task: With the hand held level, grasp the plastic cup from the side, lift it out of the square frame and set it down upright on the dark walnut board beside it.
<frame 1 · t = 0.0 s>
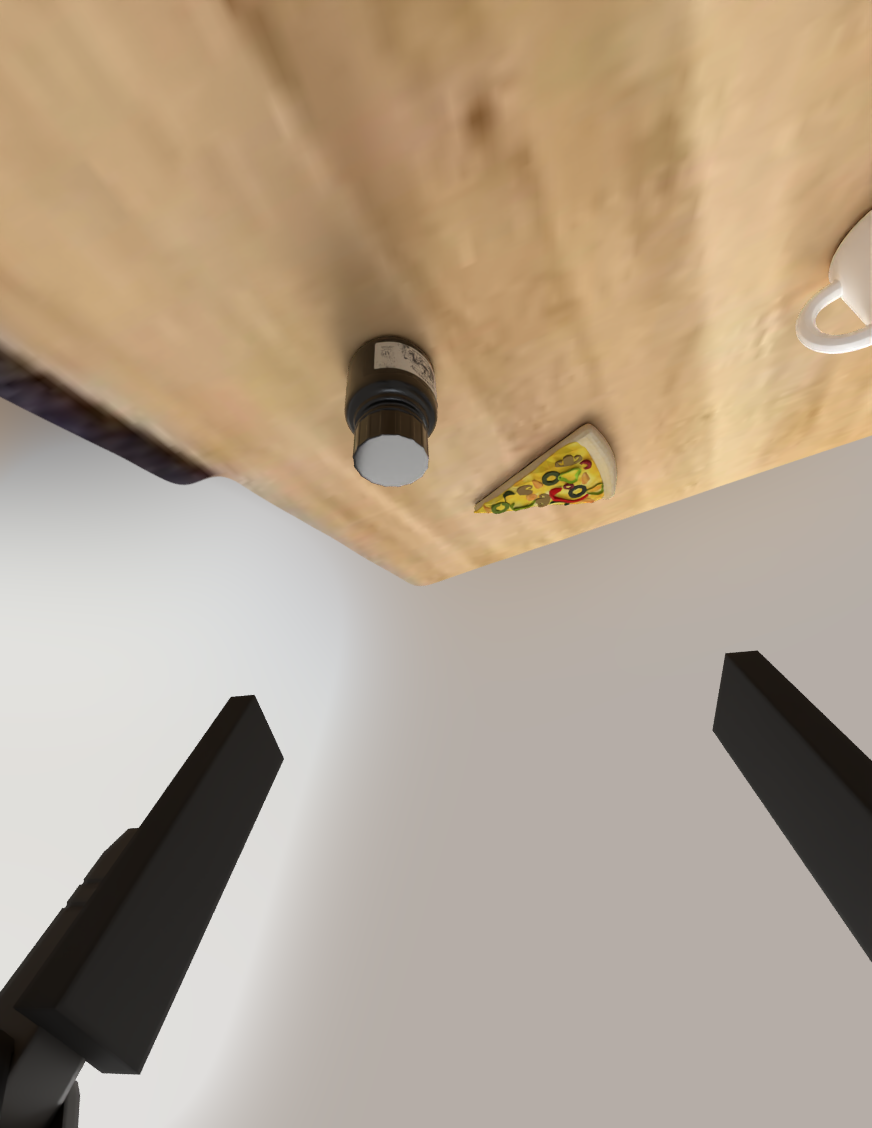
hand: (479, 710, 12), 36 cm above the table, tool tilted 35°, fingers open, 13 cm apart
mug: (857, 252, 35), on the table
ink bottle: (391, 374, 43), on the table
pizza slice: (537, 480, 59), on the table
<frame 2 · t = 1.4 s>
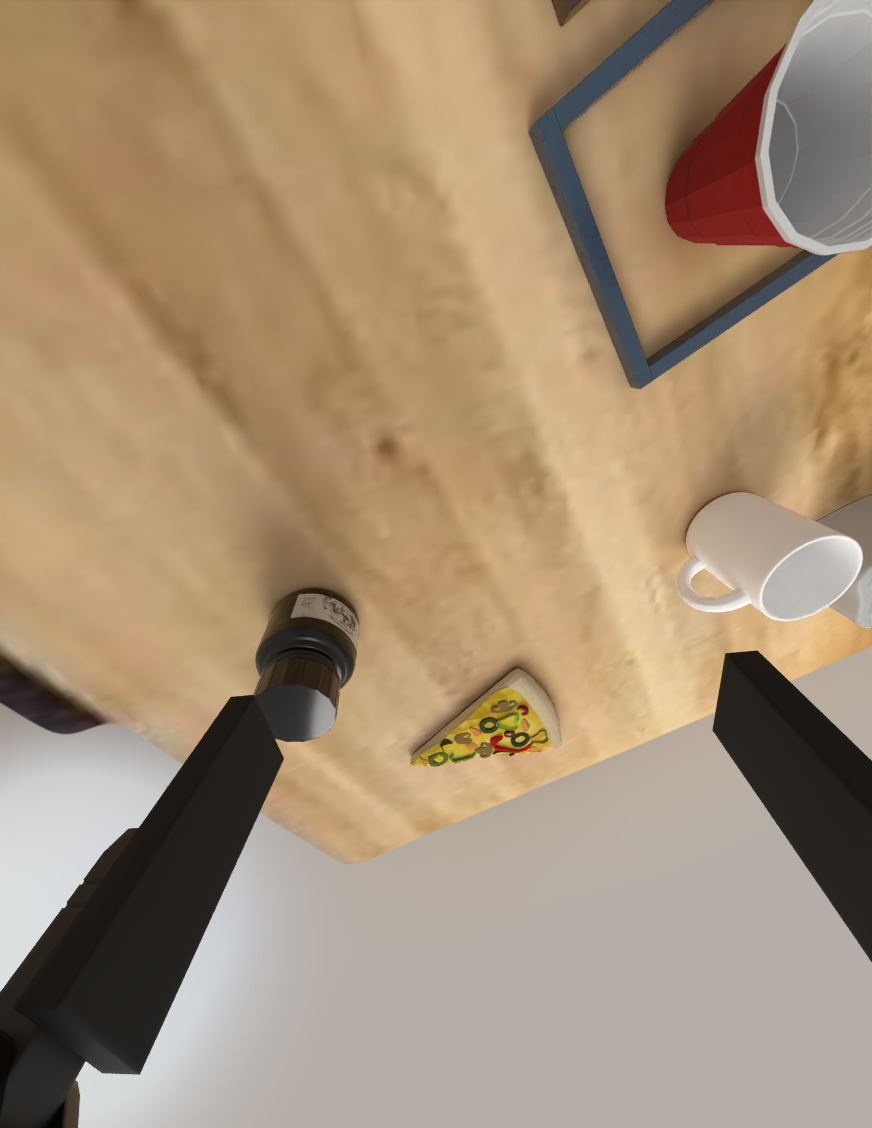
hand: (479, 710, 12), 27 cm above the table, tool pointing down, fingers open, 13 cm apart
mug: (703, 537, 43), on the table
ink bottle: (316, 621, 43), on the table
pizza slice: (477, 726, 54), on the table
egg container: (853, 538, 45), on the table
plastic cup: (704, 186, 28), resting in square frame
square frame: (706, 185, 28), on the table
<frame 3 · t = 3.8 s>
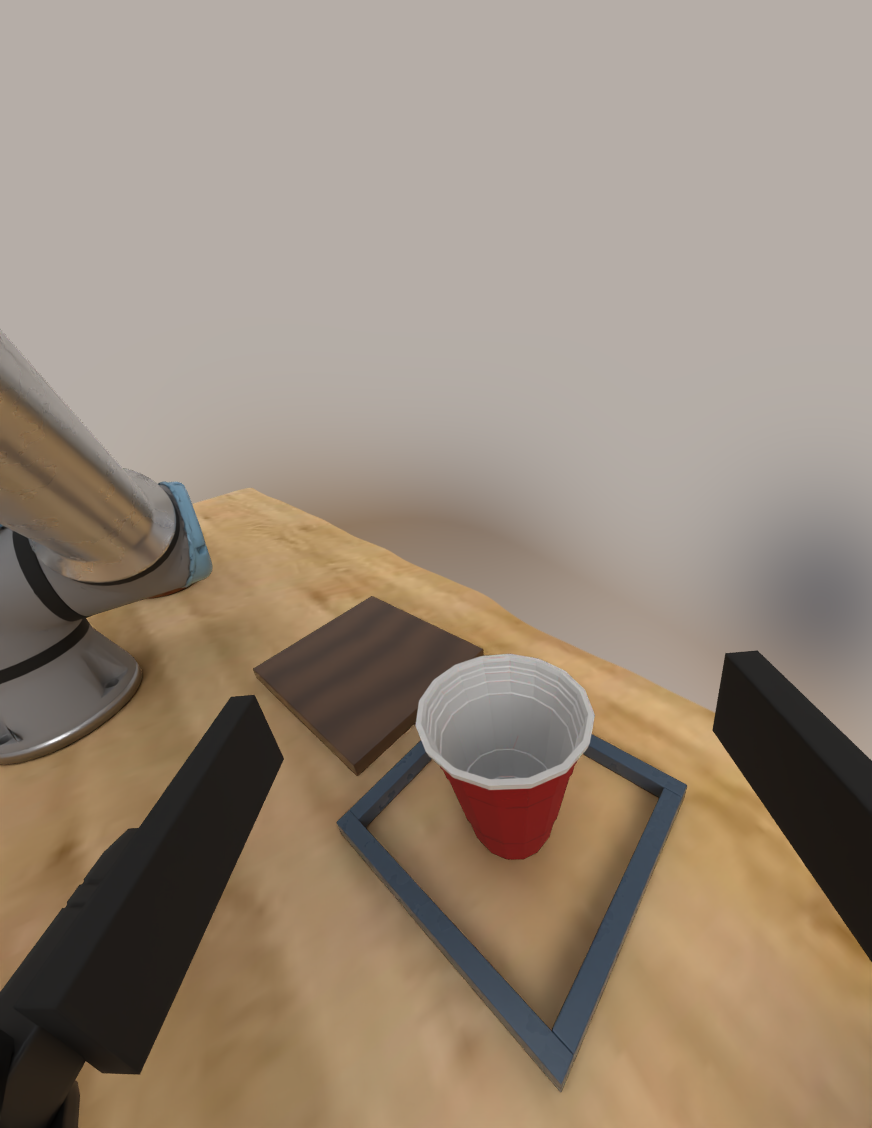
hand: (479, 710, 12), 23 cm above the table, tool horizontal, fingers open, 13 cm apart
plastic cup: (510, 816, 31), resting in square frame
square frame: (509, 815, 31), on the table
walnut board: (367, 668, 47), on the table
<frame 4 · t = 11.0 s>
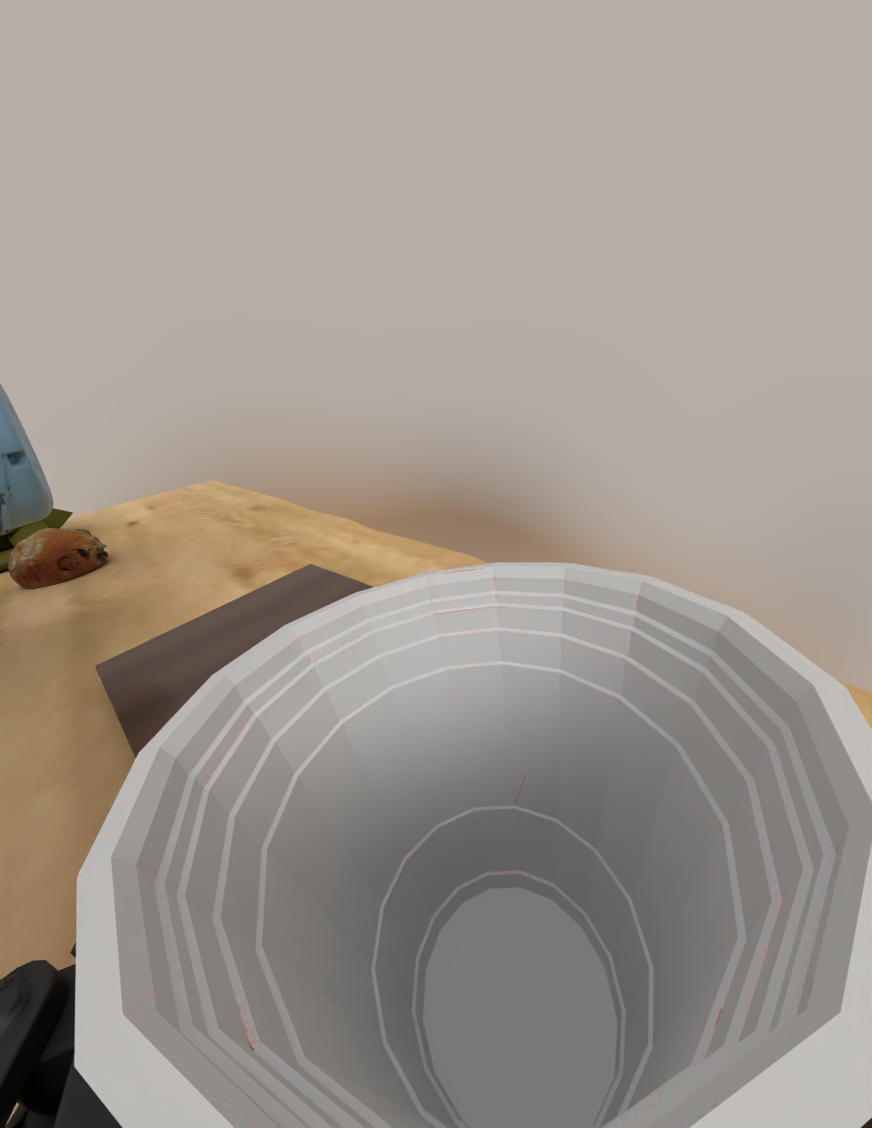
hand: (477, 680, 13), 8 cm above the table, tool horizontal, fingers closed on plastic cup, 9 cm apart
plastic cup: (513, 989, 12), resting in square frame, touching gripper
bread roll: (71, 572, 57), on the table
walnut board: (278, 660, 29), on the table
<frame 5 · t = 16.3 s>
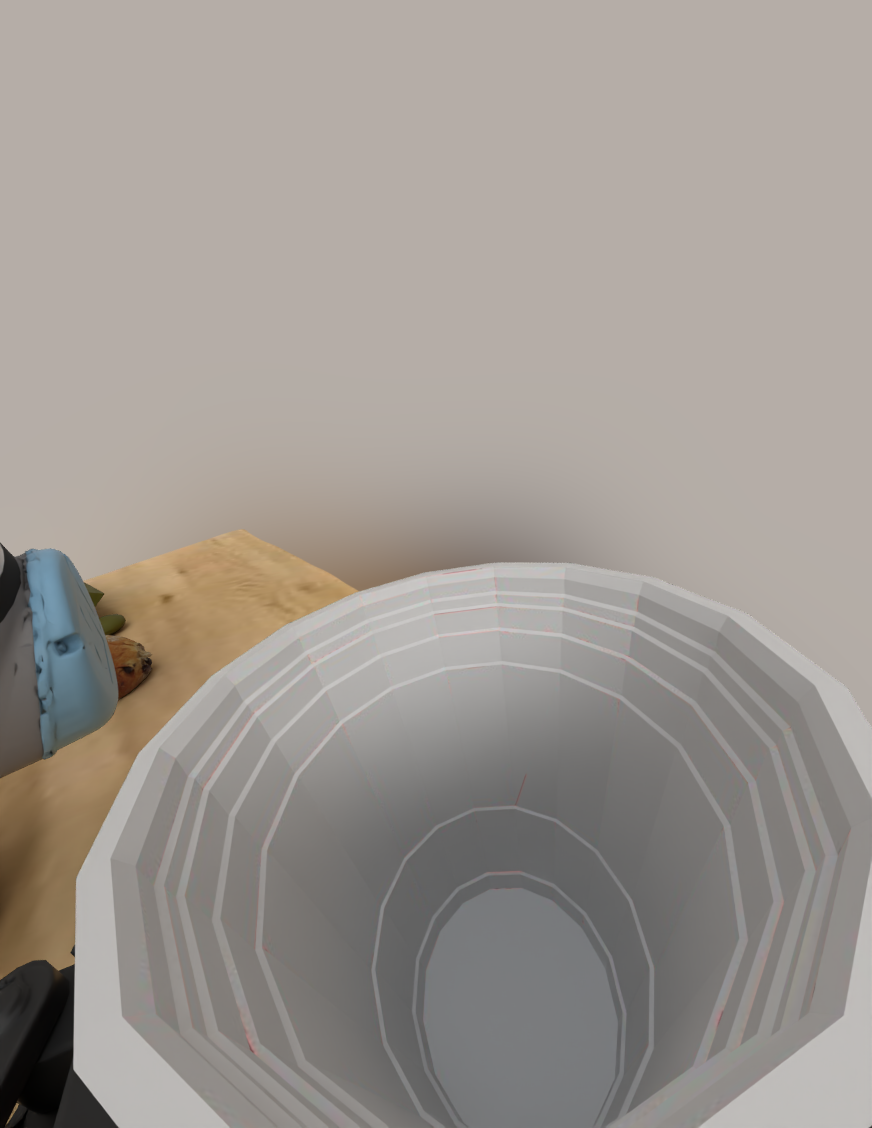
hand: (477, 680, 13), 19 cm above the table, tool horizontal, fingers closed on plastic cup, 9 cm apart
plastic cup: (514, 990, 12), point 11 cm above the table, touching gripper
bread roll: (112, 685, 50), on the table
when the fingers open (9 cm above the table, at t = 21.6 s): plastic cup stays where it is, resting on walnut board.
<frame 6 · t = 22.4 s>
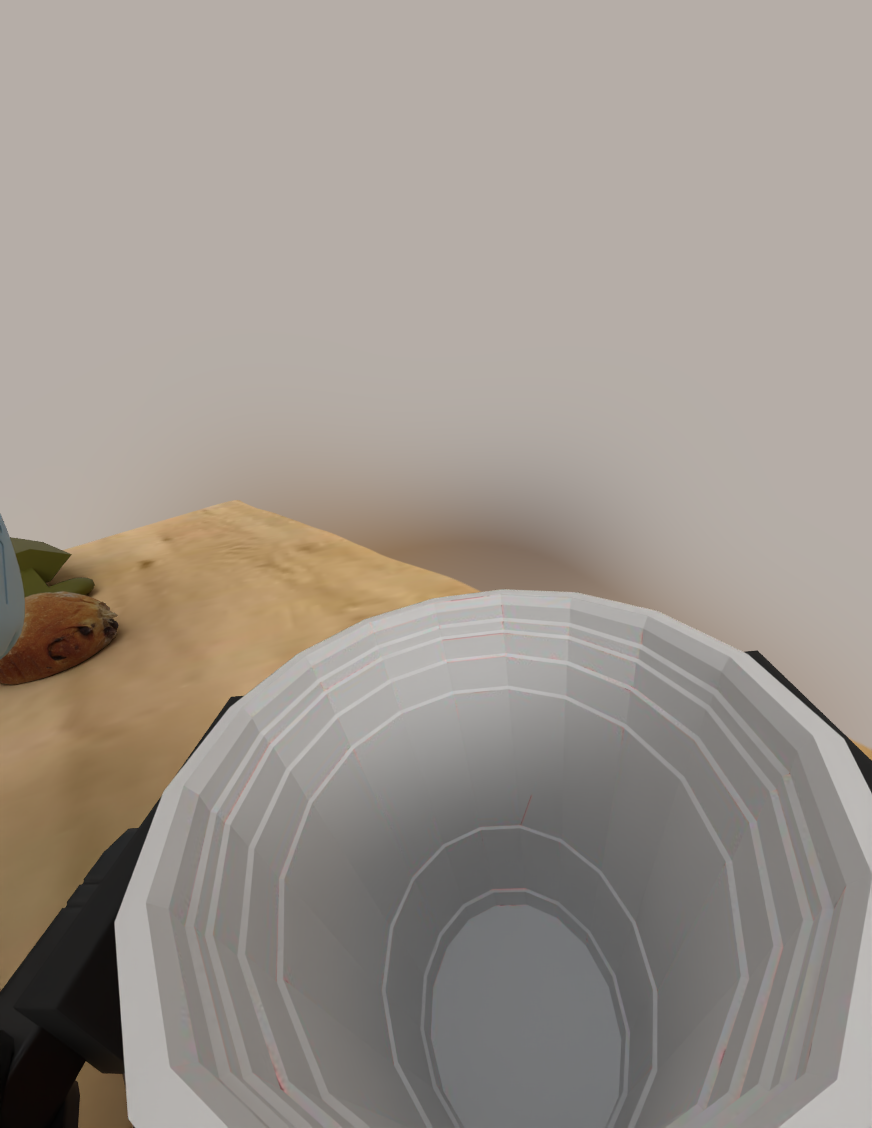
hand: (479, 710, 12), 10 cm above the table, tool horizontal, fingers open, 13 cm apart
plastic cup: (519, 1007, 12), point 1 cm above the table, touching walnut board
bread roll: (68, 653, 41), on the table
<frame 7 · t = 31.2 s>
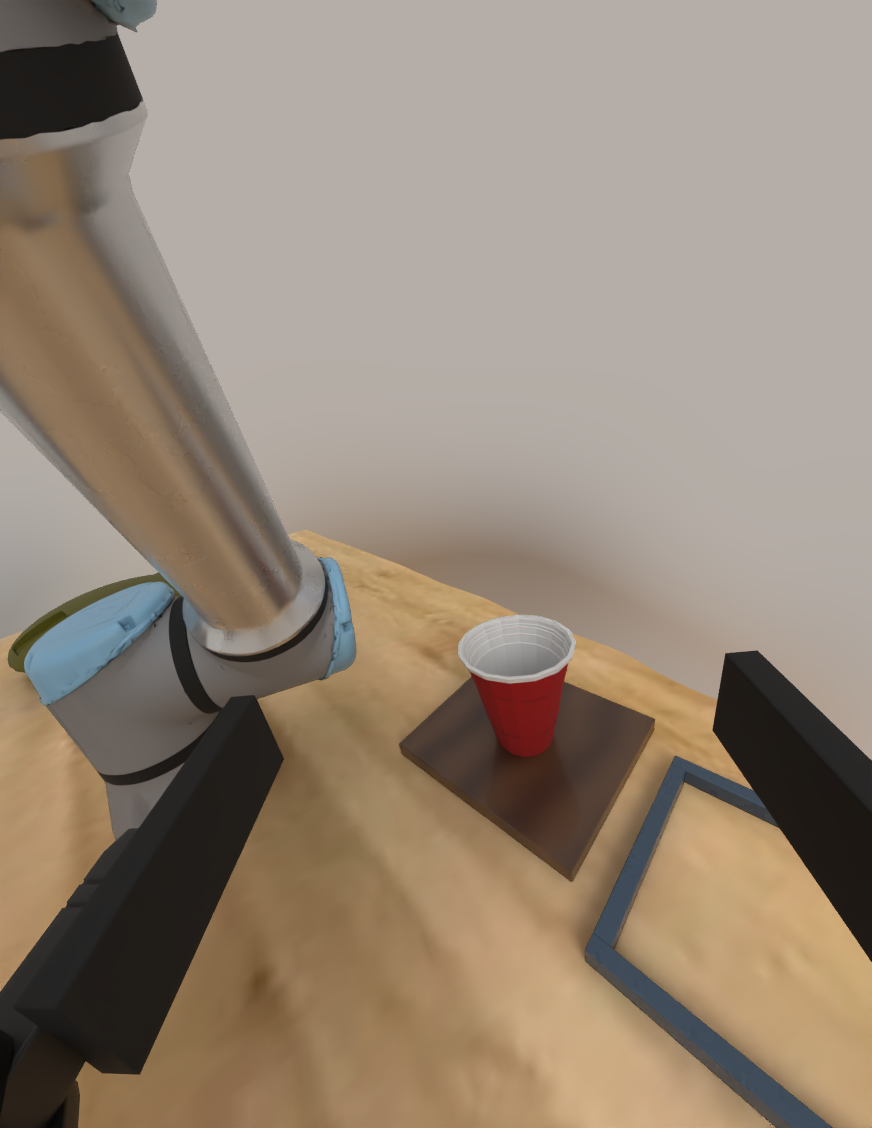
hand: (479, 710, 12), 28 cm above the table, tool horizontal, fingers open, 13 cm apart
spaceship: (138, 633, 82), on the table
plastic cup: (524, 733, 43), point 1 cm above the table, touching walnut board
square frame: (783, 938, 27), on the table
walnut board: (524, 741, 44), on the table
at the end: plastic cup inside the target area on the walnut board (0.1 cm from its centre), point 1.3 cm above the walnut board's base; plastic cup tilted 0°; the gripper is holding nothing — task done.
